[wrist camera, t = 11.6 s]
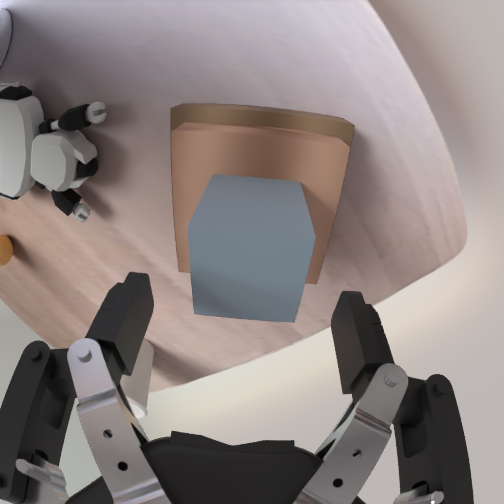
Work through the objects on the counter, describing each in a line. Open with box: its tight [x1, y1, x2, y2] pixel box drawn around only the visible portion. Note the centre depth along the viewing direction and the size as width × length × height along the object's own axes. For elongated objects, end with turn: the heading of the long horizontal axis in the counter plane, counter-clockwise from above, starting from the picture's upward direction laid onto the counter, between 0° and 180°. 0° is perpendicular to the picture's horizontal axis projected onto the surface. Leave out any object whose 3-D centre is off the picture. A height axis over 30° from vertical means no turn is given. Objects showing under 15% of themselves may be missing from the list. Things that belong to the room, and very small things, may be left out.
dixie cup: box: [120, 338, 154, 418], centre depth 32 cm, size 8×8×10 cm
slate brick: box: [187, 174, 316, 323], centre depth 15 cm, size 5×5×6 cm
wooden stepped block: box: [171, 104, 355, 284], centre depth 20 cm, size 12×12×6 cm
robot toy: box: [0, 82, 107, 222], centre depth 18 cm, size 12×4×15 cm
